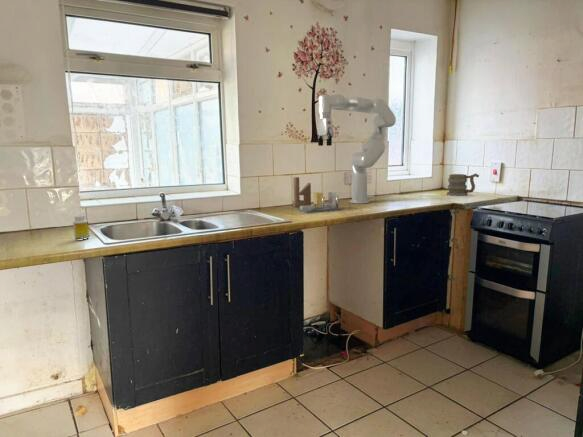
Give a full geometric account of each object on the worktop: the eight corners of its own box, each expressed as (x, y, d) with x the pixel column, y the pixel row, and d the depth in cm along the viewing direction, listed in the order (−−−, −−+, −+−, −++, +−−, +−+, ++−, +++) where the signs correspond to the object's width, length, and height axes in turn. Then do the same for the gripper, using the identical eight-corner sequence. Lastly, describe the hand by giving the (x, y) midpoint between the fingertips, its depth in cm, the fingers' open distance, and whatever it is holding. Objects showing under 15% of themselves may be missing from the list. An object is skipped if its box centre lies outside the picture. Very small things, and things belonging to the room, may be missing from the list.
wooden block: (311, 206, 269) (310, 176, 266) (295, 207, 265) (294, 177, 261) (308, 205, 272) (308, 176, 269) (292, 206, 268) (292, 177, 265)
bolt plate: (330, 207, 262) (330, 204, 262) (341, 209, 250) (341, 207, 250) (297, 210, 253) (297, 207, 253) (306, 213, 242) (306, 210, 241)
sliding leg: (319, 206, 255) (319, 191, 254) (327, 208, 247) (326, 193, 246) (313, 206, 254) (313, 192, 252) (320, 208, 246) (320, 193, 244)
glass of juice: (91, 239, 187) (89, 215, 186) (78, 241, 183) (75, 217, 182) (86, 237, 191) (83, 214, 189) (72, 239, 187) (70, 216, 186)
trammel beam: (332, 205, 259) (331, 191, 257) (339, 207, 250) (339, 193, 249) (299, 208, 250) (299, 194, 249) (306, 210, 242) (305, 195, 241)
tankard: (445, 195, 303) (445, 173, 300) (450, 193, 313) (450, 172, 310) (475, 196, 291) (476, 174, 289) (479, 194, 302) (481, 172, 299)
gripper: (338, 115, 254) (338, 145, 256) (322, 117, 269) (322, 145, 272) (326, 115, 250) (327, 145, 253) (312, 117, 266) (312, 145, 268)
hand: (324, 145), depth 262 cm, fingers open, 9 cm apart
